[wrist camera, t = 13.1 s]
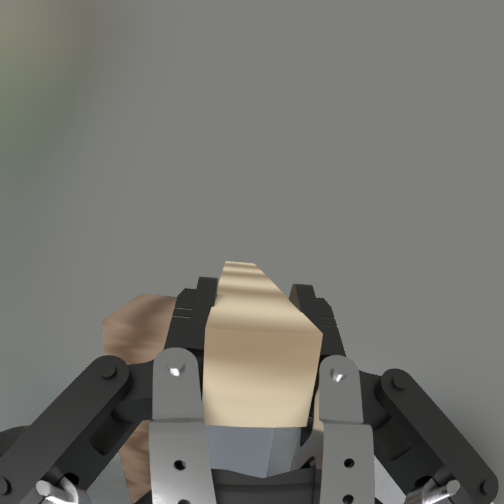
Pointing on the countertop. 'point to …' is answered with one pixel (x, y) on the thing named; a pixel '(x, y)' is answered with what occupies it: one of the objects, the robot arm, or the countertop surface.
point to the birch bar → (257, 354)
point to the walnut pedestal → (133, 352)
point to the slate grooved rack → (240, 448)
